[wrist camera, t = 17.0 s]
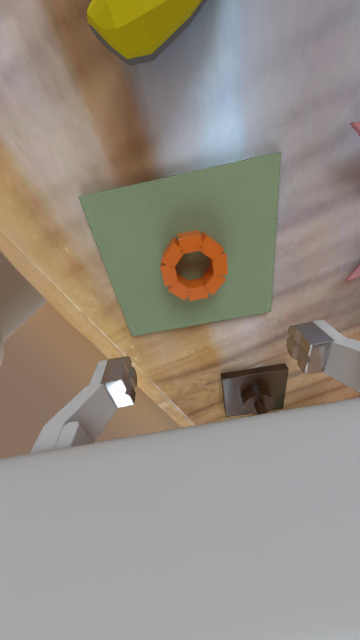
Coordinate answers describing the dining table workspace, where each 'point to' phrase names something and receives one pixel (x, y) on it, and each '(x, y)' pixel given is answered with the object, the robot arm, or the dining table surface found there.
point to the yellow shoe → (140, 25)
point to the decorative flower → (359, 270)
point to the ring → (211, 277)
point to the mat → (183, 216)
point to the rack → (254, 390)
